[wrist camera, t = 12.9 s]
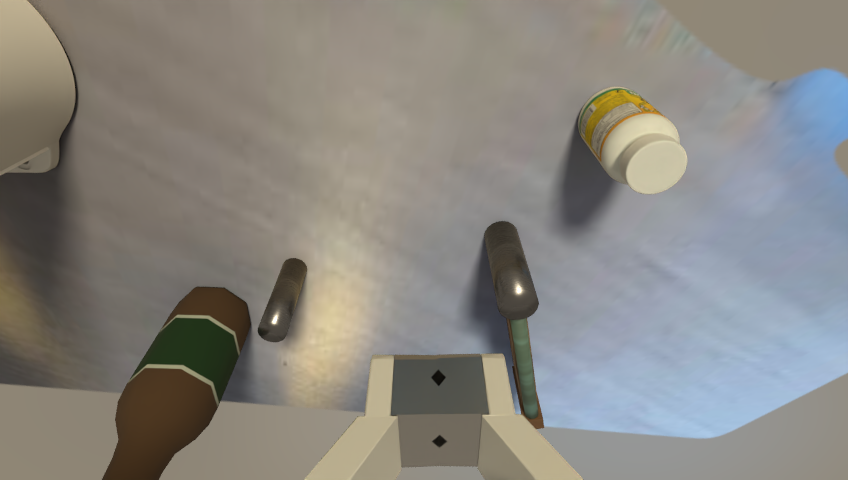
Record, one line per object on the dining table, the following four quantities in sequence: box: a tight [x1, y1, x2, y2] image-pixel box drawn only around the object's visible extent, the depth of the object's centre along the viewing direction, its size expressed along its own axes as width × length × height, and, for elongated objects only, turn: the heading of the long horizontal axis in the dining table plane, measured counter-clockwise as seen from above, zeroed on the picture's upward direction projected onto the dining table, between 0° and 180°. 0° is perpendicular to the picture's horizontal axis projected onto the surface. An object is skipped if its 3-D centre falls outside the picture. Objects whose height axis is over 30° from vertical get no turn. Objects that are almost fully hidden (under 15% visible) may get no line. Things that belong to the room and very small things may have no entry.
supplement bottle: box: [578, 87, 687, 194], centre depth 36 cm, size 5×5×10 cm
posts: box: [258, 221, 539, 342], centre depth 43 cm, size 24×3×10 cm, turn 101°
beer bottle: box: [102, 287, 251, 480], centre depth 42 cm, size 8×8×24 cm
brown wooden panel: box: [506, 318, 544, 429], centre depth 48 cm, size 17×2×7 cm, turn 12°
